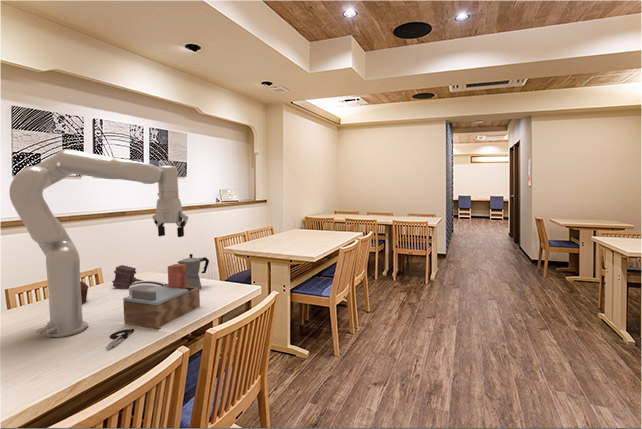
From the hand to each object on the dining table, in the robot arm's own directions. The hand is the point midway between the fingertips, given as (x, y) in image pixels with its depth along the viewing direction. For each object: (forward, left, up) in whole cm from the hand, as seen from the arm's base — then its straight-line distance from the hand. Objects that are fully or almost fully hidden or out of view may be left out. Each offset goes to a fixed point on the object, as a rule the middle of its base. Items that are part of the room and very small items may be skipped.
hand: (171, 236), depth 149 cm
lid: (-11, -2, -22) cm, 25 cm away
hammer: (+20, +35, -32) cm, 51 cm away
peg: (0, -2, -30) cm, 31 cm away
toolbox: (-8, -2, -31) cm, 32 cm away
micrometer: (-31, -2, -32) cm, 45 cm away
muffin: (-9, +47, -32) cm, 57 cm away
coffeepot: (+27, +11, -32) cm, 43 cm away
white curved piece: (+7, +21, -32) cm, 39 cm away
